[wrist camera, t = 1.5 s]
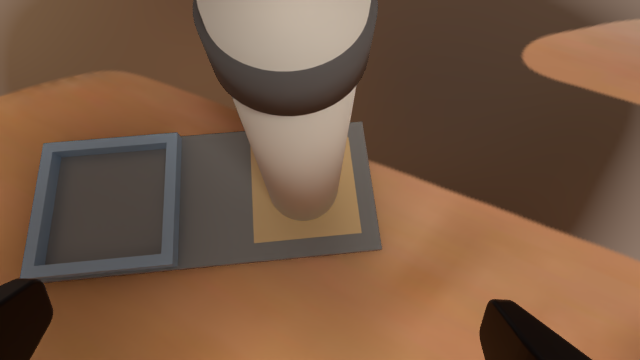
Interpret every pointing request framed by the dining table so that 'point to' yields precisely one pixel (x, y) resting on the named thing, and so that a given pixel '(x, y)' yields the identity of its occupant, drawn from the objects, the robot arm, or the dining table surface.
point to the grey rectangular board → (180, 208)
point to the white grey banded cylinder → (291, 87)
